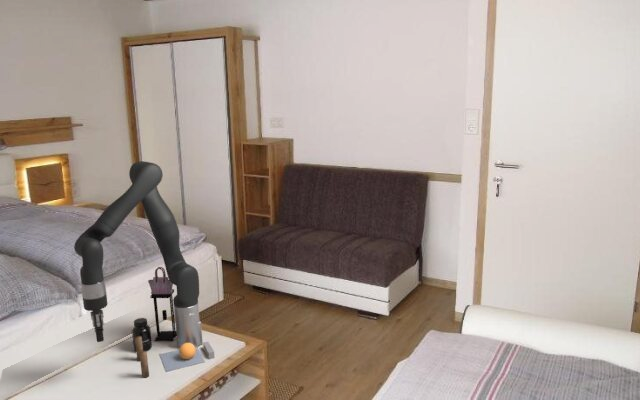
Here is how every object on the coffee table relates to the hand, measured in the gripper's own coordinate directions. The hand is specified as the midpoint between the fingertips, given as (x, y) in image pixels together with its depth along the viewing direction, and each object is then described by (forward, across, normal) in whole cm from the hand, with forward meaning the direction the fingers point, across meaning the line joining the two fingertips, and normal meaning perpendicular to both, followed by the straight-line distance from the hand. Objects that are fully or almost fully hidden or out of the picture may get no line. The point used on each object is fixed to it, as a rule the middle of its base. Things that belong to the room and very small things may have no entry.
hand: (100, 340), depth 182 cm
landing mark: (+14, 0, -27) cm, 30 cm away
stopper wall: (+14, -1, -37) cm, 40 cm away
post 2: (+14, -6, -13) cm, 20 cm away
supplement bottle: (+14, +15, -15) cm, 26 cm away
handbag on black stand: (+14, +21, -25) cm, 36 cm away
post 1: (+14, +6, -13) cm, 20 cm away
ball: (+11, -1, -29) cm, 31 cm away
